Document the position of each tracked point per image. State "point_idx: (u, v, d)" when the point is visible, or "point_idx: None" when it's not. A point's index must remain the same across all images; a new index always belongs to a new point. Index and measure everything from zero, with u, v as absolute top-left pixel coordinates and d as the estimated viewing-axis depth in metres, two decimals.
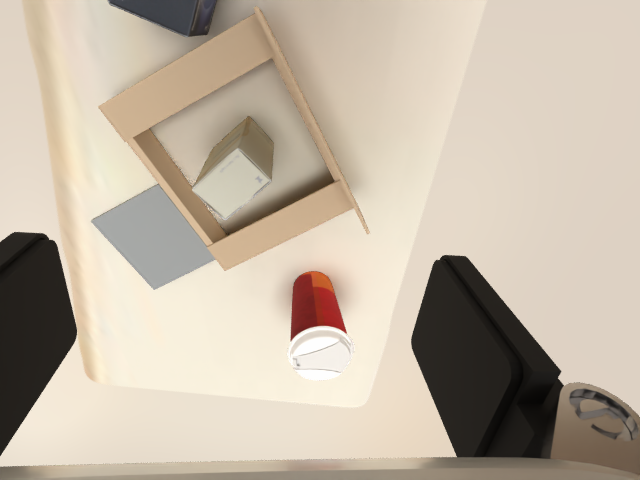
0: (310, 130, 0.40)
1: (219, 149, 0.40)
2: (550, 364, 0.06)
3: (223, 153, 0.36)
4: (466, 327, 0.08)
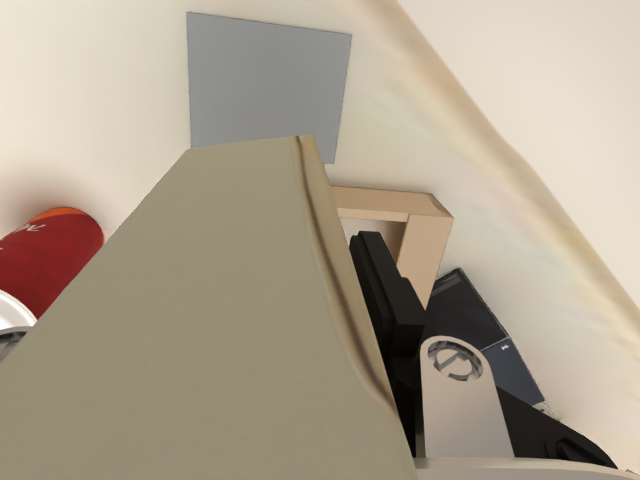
0: None
1: None
2: (418, 319, 0.07)
3: None
4: (364, 293, 0.09)
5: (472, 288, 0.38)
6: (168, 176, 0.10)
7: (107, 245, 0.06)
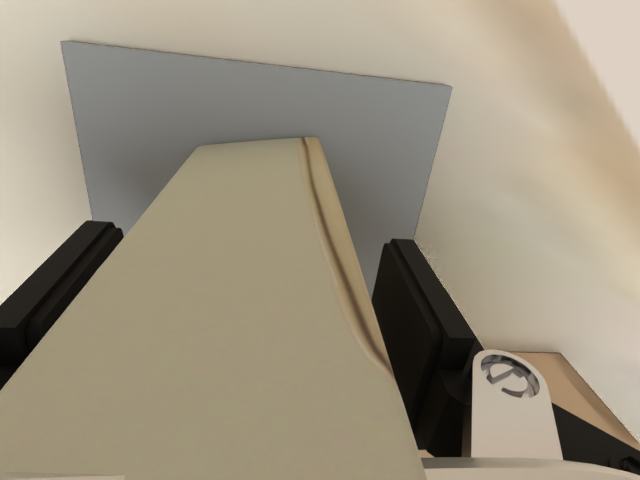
0: None
1: None
2: (467, 332, 0.07)
3: None
4: (403, 303, 0.09)
5: None
6: (182, 171, 0.10)
7: (132, 233, 0.07)
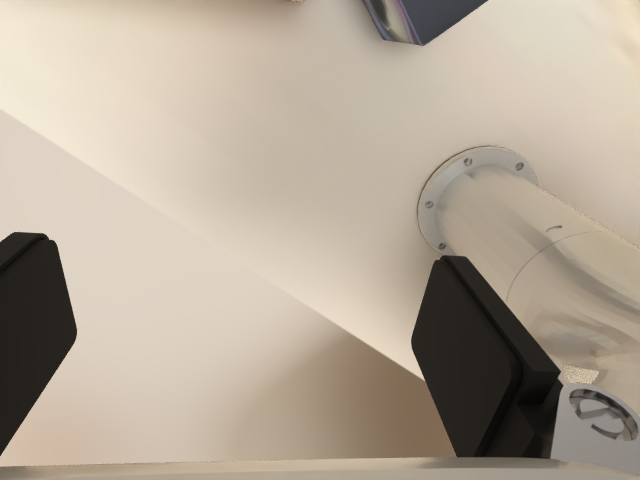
0: None
1: None
2: (550, 364, 0.06)
3: None
4: (466, 327, 0.08)
5: None
6: None
7: None
